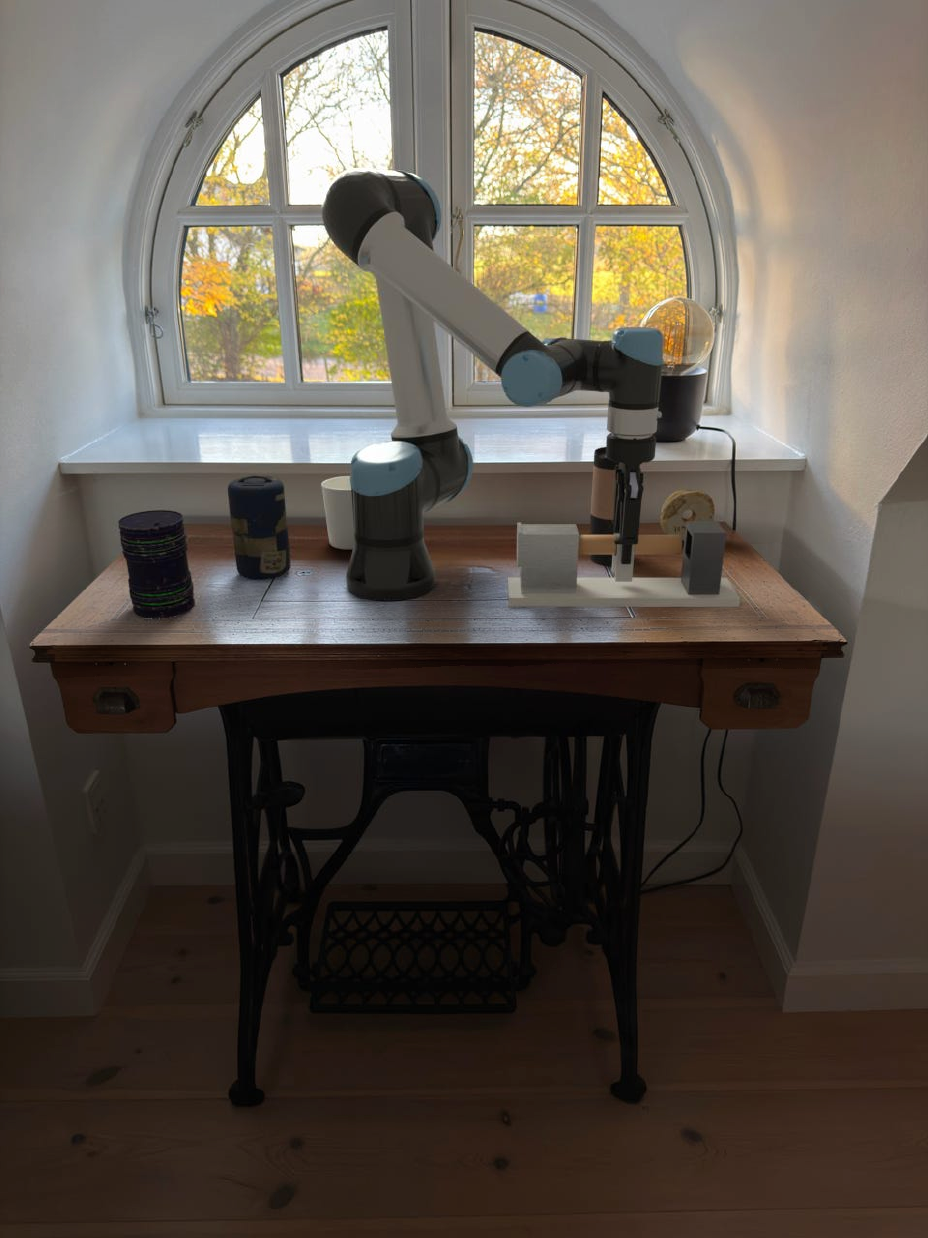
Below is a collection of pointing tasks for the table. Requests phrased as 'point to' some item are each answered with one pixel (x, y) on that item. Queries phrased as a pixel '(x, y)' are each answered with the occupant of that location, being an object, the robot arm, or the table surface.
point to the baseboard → (624, 594)
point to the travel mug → (602, 500)
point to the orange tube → (644, 546)
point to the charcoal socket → (703, 557)
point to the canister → (259, 527)
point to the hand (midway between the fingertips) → (621, 575)
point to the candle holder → (339, 511)
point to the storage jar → (157, 563)
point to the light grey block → (548, 558)
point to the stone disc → (679, 504)
